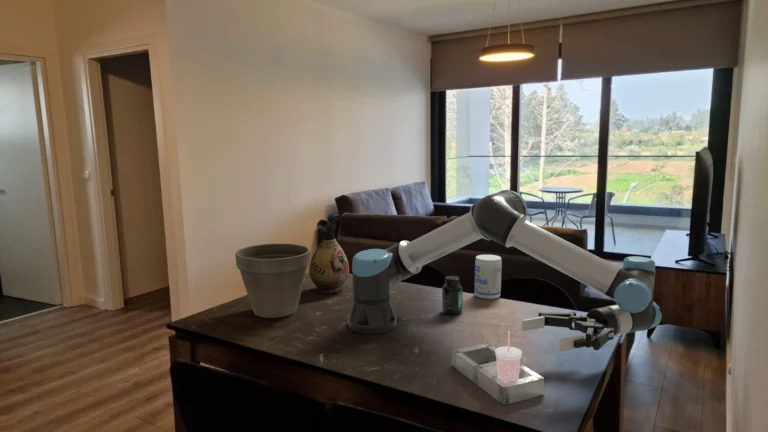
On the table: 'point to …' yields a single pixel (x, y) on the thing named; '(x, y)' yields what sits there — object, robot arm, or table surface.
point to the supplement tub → (488, 276)
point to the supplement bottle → (452, 296)
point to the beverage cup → (508, 362)
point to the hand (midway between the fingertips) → (540, 334)
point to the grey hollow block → (487, 375)
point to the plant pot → (273, 277)
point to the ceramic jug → (329, 259)
